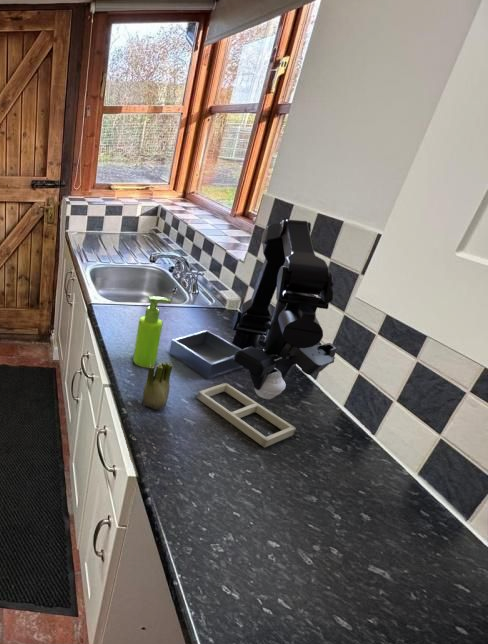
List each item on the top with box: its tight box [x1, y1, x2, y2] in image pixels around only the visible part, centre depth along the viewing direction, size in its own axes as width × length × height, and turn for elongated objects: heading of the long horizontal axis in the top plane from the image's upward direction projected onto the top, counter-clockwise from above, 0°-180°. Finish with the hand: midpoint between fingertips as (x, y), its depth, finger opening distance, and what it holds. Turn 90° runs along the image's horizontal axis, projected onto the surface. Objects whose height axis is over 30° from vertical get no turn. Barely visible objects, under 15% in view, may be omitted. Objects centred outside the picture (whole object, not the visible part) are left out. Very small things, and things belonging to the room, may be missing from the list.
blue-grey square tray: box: [168, 329, 244, 380], centre depth 113 cm, size 14×14×5 cm
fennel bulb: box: [142, 361, 174, 411], centre depth 95 cm, size 6×5×12 cm
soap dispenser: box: [132, 295, 172, 369], centre depth 110 cm, size 6×7×20 cm
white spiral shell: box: [253, 368, 287, 400], centre depth 87 cm, size 6×6×7 cm
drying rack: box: [196, 382, 297, 448], centre depth 93 cm, size 9×17×2 cm, turn 22°
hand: (267, 385), depth 87 cm, fingers closed on white spiral shell, 6 cm apart
